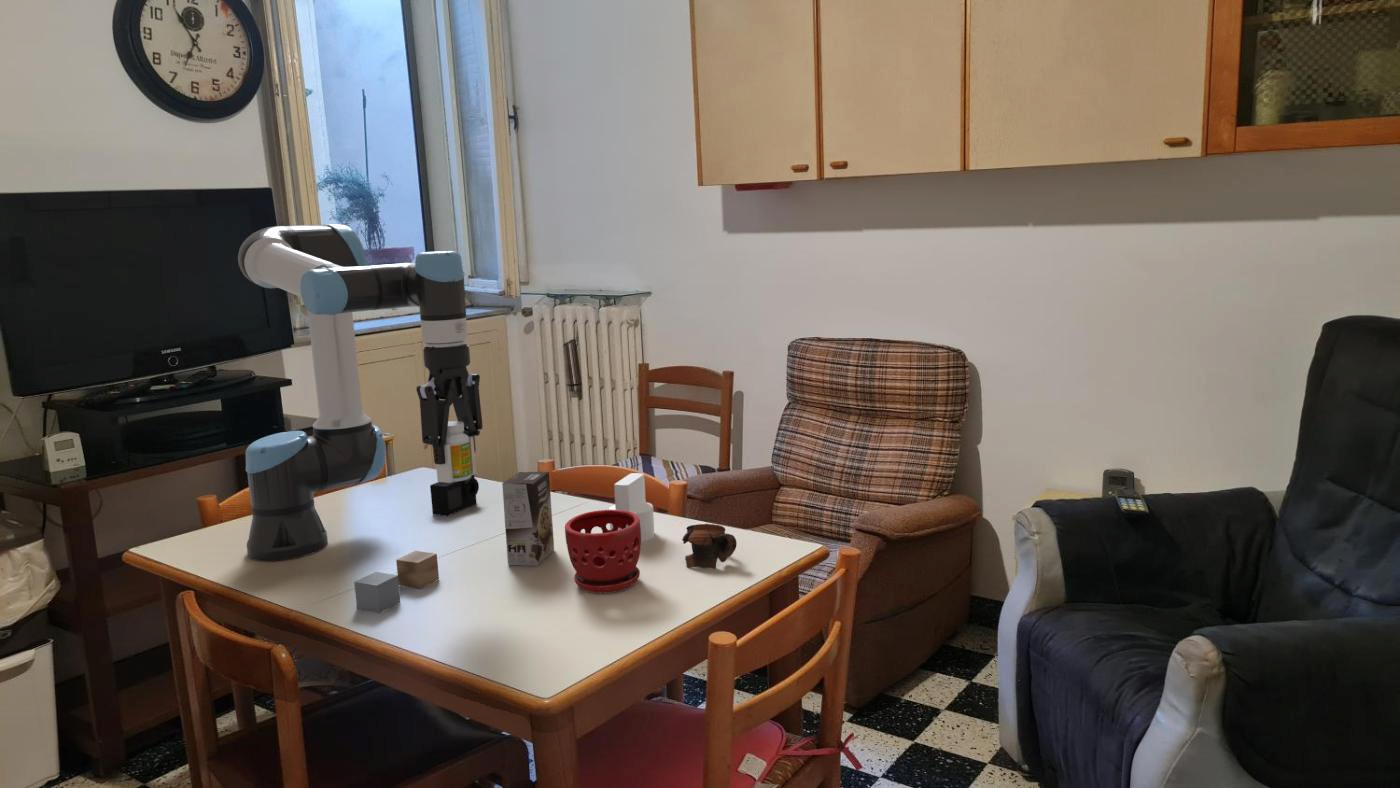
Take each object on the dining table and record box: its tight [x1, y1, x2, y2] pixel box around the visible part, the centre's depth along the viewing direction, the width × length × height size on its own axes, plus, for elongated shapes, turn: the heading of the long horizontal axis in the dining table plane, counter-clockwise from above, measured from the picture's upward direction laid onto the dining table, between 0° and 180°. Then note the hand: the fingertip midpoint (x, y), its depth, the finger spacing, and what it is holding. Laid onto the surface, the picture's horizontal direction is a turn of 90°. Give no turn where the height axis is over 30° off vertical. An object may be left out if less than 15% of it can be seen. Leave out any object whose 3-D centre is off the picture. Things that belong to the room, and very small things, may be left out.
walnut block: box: [395, 550, 440, 590], centre depth 174 cm, size 5×5×5 cm
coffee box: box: [502, 471, 555, 567], centre depth 184 cm, size 9×6×16 cm
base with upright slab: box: [608, 472, 655, 543], centre depth 195 cm, size 9×9×12 cm
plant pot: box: [564, 509, 642, 594], centre depth 169 cm, size 13×13×12 cm
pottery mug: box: [681, 523, 737, 569], centre depth 179 cm, size 12×10×8 cm
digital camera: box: [429, 474, 480, 517], centre depth 219 cm, size 10×5×7 cm, turn 154°
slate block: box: [353, 571, 401, 614], centre depth 164 cm, size 5×5×5 cm
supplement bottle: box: [446, 420, 473, 482], centre depth 165 cm, size 5×5×10 cm
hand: (457, 476), depth 166 cm, fingers closed on supplement bottle, 5 cm apart
